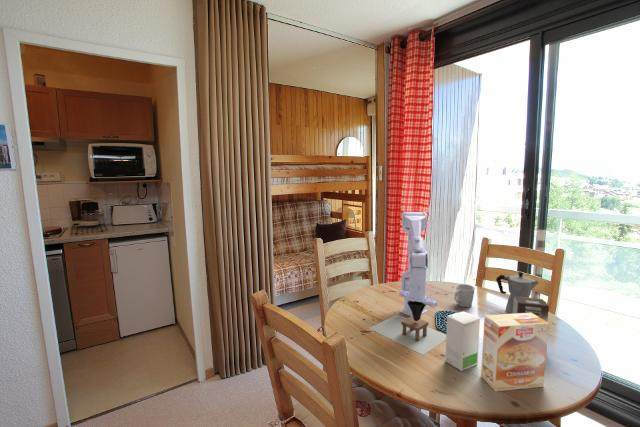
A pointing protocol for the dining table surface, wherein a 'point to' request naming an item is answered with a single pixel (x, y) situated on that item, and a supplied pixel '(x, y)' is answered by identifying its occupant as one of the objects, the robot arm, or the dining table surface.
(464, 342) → the skincare box
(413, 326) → the stool
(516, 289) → the coffeepot
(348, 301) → the dining table surface
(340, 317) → the dining table surface
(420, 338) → the mat
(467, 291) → the cup
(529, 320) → the coffeecake box
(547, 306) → the coffee box
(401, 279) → the robot arm
